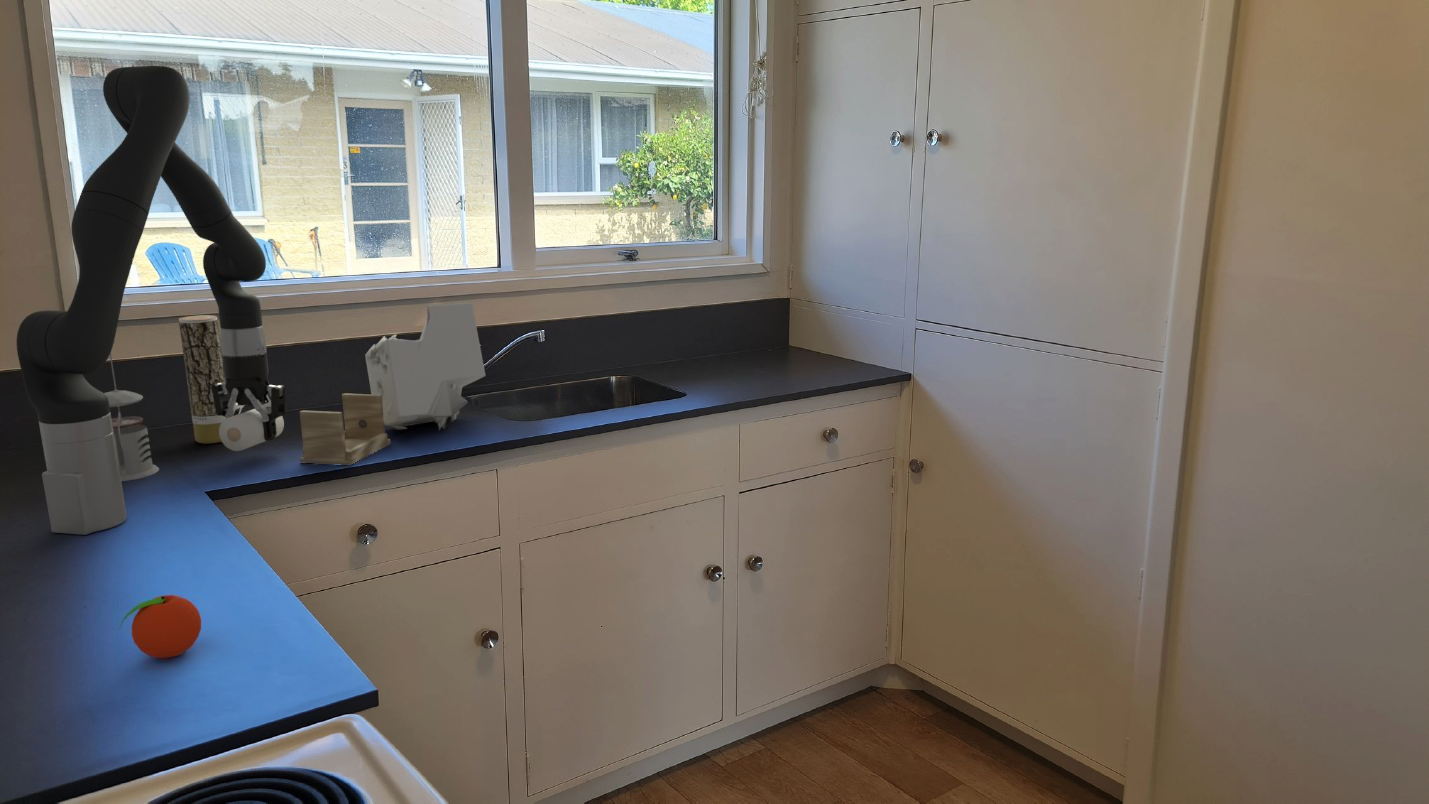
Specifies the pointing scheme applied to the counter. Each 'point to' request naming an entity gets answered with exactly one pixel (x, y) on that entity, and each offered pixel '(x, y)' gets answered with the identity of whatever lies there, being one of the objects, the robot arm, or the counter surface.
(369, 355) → the white jagged block
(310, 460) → the holder
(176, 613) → the clementine
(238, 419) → the roll
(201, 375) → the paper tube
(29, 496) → the counter surface
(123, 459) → the french press
